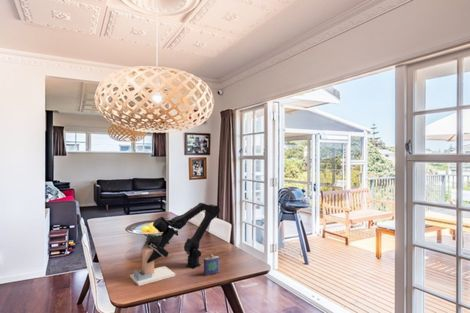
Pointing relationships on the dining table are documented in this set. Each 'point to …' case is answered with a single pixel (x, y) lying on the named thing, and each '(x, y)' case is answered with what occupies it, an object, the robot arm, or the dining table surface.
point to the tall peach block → (146, 266)
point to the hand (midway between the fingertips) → (145, 261)
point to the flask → (211, 265)
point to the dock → (152, 275)
